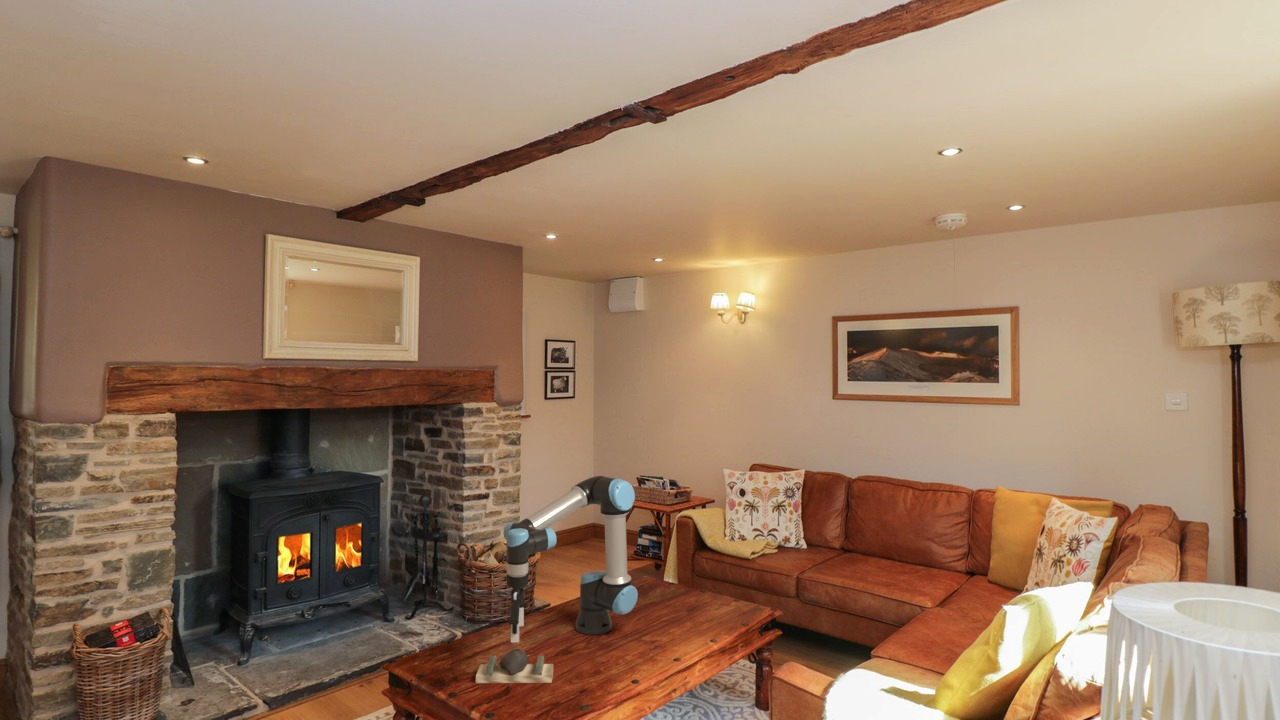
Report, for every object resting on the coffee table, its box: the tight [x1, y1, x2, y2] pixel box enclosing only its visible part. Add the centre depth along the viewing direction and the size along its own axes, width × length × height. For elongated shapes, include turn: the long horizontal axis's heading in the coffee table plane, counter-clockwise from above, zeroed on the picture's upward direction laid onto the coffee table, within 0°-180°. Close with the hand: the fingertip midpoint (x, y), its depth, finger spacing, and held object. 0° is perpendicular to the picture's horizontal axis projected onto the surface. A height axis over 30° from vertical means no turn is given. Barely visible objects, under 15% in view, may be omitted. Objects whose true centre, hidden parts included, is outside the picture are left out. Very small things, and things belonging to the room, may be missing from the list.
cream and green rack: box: [475, 655, 555, 684], centre depth 240 cm, size 26×9×6 cm, turn 93°
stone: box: [498, 648, 529, 675], centre depth 240 cm, size 10×8×10 cm
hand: (517, 633), depth 240 cm, fingers open, 13 cm apart
